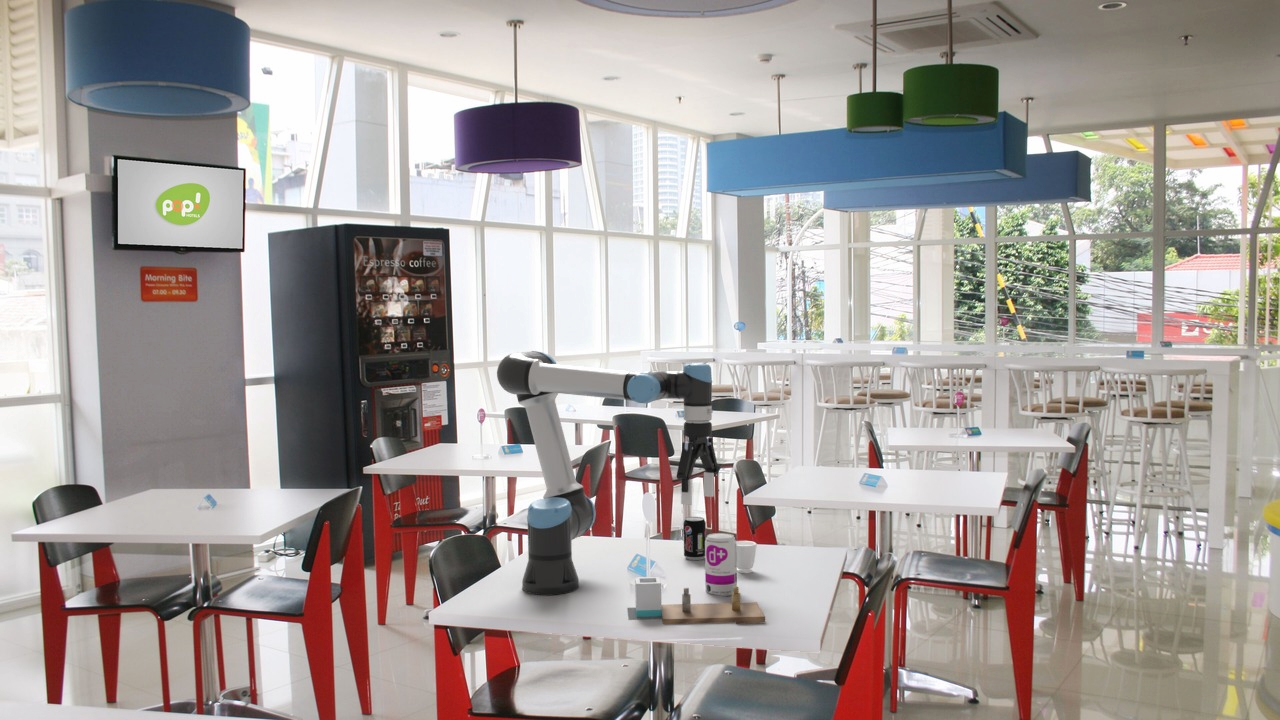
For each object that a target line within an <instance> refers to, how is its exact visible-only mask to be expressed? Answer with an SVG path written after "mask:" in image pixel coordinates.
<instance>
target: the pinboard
mask: <svg viewBox="0 0 1280 720" xmlns="http://www.w3.org/2000/svg"><path fill="white" fill-rule="evenodd" d="M689 589H690V588H689V587H683V594H682V595H681V603H679V604H678V603H677V604H673V603H672V604H661V605H662V619H661V620H662V624H663V625H679V624H682V625H684V624H717V623H718V624H719V623H735V624H740V623H741V624H761V623H760V622H765V623H766V615H765V613H764V611H762V608H761V607H760V605H759V603H758V602H757V601H755V602H754V601H753V602H749V601H748V602H741V593H740V592H739V589H740V588H739V586H737V587H733V590H734V592H733V593H732V595H731V602H720V603H719V602H715V603H691V598H692V597H691V594H690V590H689ZM741 624H740V625H741Z"/></svg>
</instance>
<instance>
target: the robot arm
mask: <svg viewBox="0 0 1280 720" xmlns="http://www.w3.org/2000/svg"><path fill="white" fill-rule="evenodd" d="M712 375H713V374H712V367H711V365H709V364H707V363H685V364H684V365H683V369H682V370H678V371H675V370H674V371H672V370H645V371H643V372H638V371H627V370H626V371H625V370H616V369H605V368H597V367H596V368H594V367H584V366H574V365H564V364H557V362H556V361H555V359H554V358H553V357H551V355H549V354H547V353H545V352H541V351H538V350H532V351H524V352H523V351H522V352H514V353H509V354H508V355H506V356H504V357H503V359H501V361H500V362H499V364H498V367H497V370H496V379H497V381H498V384H499V385H500V386H501V388H502V389H503V390H504V391H505V392H507V393H508V394H510V395H511V394H512V395H516V398H517V401H518V404H519V405H520V406H522V407H524V409H525V411H526V416H527V419H528V422H529V426H530V430H531V434H532V438H533V442H534V446H535V449H536V453H537V457H538V461H539V464H540V469H541V473H542V477H543V480H544V484H545V489H546V491H545V493H544V494H543V496H542V497H543V498H542V499H541V498H540V499H537V500H535V501H533V502H531V503H530V504H529V505H528V509H527V515H526V521H527V548H528V552H527V554H528V557H527V558H528V560H527V562H526V567H525V571H524V574H523V577H522V582H521V583H522V584H521V585H522V589H521V590H522V591H524V592H525V593H528V594H531V595H532V594H533V595H539V596H541V595H543V596H548V595H551V596H553V595H561V594H562V595H563V594H567V593H568V594H569V593H572V592H574V591H576V590H577V589H579V586H580V583H579V582H580V579H579V576H578V573H577V570H576V566H575V565H574V561H573V555H572V554H573V552H572V550H573V549H572V545H573V543H572V541H573V540H574V539H577V538H580V537H582V536H583V535H586V533H587V532H588V531H589V530H590V529H591V528H592V527H593V525H594V524H595V520H596V514H597V513H596V512H597V511H596V507H595V504H594V502H593V501H592V499H591V498H590V497H588V496H587V495H586V494H585V493H586V492H585V489H584V485H583V484H580V483H579V482H578V481H577V478H576V476H575V475H576V474H575V472H574V468H573V463H572V460H571V457H570V453H569V449H568V445H567V441H566V438H565V434H564V430H563V426H562V423H561V419H560V415H559V412H558V407H557V404H556V398H557V396H558V395H559V394H562V395H573V396H584V397H591V398H592V397H595V398H604V399H614V400H623V401H624V400H625V401H631V402H635V403H637V404H649V403H652V402H656V401H661V400H664V399H665V400H669V399H670V400H675V399H676V400H683V421H685V422H684V423H683V435H684V437H688V440H687V441H682V443H681V445H682V446H681V452H680V453H681V454H680V458H679V461H678V466H677V471H676V478H677V479H676V480H680V485H681V486H680V499H681V500H680V504H681V505H686V506H692V503H693V501H692V500H693V499H692V497H693V496H692V495H693V492H692V491H693V489H692V488H693V486H692V484H693V483H692V481H693V480H692V479H691V476H692V473H693V470H694V468H695V465H696V463H697V460H698V459H699V458H700V461H701V463H702V466H703V469H704V472H703V497H707V498H709V497H710V498H714V496H715V473H718V468H719V465H718V462H717V456H716V452H715V448H714V439H713V437H712V434H713V429H712V428H713V427H712V426H713V424H712V422H710V421H711V420H712V419H713V418H712V417H713V415H712V414H713V412H714V411H713V409H712V408H713V406H712V403H713V402H712V397H713V395H712V393H713V391H712V389H713V377H712Z"/></svg>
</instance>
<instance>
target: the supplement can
mask: <svg viewBox="0 0 1280 720" xmlns="http://www.w3.org/2000/svg"><path fill="white" fill-rule="evenodd" d="M736 541H737V540H736V538H735V536H734V534H732V533H727V532H717V533H716V532H715V533H709V534H706V540H705V557H704V560H705V561H704V563H705V564H704V565H705V566H704V567H705V568H704V570H705V571H704V572H705V573H704V575H705V580H704V581H705V592H706V593H709V594H710V595H715V596H723V597H728V596H729V597H730V596H732V593H733V592H734V590H733V587H738V579H737V575H738V572H737V570H738V568H737V555H736Z"/></svg>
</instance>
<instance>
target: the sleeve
mask: <svg viewBox="0 0 1280 720" xmlns="http://www.w3.org/2000/svg"><path fill="white" fill-rule="evenodd" d="M634 580H635V581H634V582H635V585H634V587H635V590H634V591H635V593H634V594H635V608H636V616H637V617H656V616H662V605H663V604H662V581H661V580H662V579H661V577H660V576H650V577H649V576H647V577H646V576H643V577H642V576H640V577H638V576H637V577H635V578H634Z"/></svg>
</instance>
